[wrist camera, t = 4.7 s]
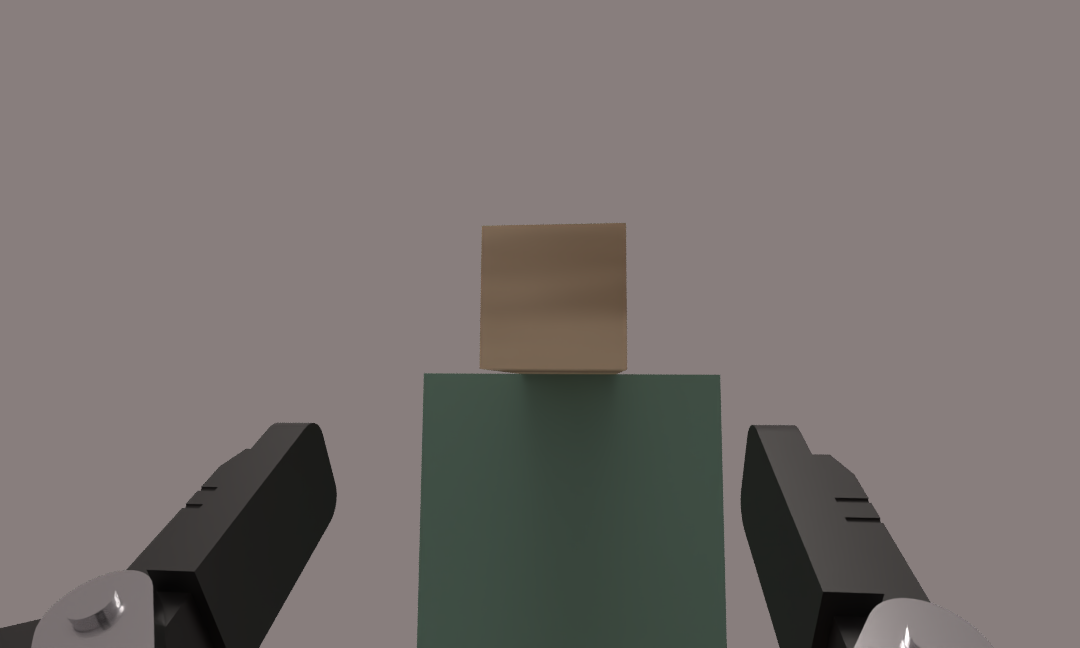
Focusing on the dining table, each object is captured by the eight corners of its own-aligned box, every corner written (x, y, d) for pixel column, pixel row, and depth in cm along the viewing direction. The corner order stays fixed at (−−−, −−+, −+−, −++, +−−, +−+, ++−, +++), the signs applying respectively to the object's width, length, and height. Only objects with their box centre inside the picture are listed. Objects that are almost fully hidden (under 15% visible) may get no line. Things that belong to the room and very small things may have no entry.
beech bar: (546, 377, 33) (546, 314, 33) (609, 377, 33) (609, 314, 33) (479, 368, 14) (482, 225, 14) (627, 369, 14) (625, 223, 14)
